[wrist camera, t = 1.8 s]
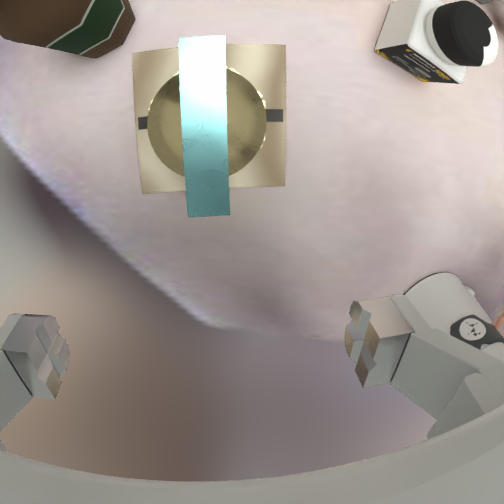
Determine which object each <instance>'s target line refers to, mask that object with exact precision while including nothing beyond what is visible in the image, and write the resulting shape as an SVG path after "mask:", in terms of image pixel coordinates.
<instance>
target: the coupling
mask: <svg viewBox="0 0 504 504" xmlns="http://www.w3.org/2000/svg"><path fill="white" fill-rule="evenodd" d="M262 96H263V95H261V94H260V93H259V92H258V91H257V90H256V89H255V87H254V86H253V85H252V84H251V83H250V82H249V81H248V80H247V79H245V78H244V77H243V76H241V75H240V74H239V73H237V72H236V71H235V70H234V69H233V68H231V69H227V66H226V47H225V35H221V36H201V37H188V38H179V71H178V72H177V73H176V74H175V75H174V76H173V77H172V78H171V79H169V80H168V81H167V82H166V83H165V84H164V85H163V86H162V87H161V88H160V90H159V91H158V92H157V94H156V96H155V97H154V99H153V100H152V101H151V102H150V103H152V104H151V106H150V107H149V113H148V120H147V130H148V136H149V140H150V143H151V147H152V148H153V150H154V153H155V154H156V155H157V157H158V158H159V159H160V160H161V162H162V163H163V164H164V165H166V166H167V167H168V168H169V169H171V170H172V171H173V172H175V173H177V174H179V175H181V176H183V177H185V186H186V198H187V210H188V217H203V216H220V215H230V201H229V177H230V175H232V174H235V173H236V172H238V171H239V170H241V169H242V168H244V167H245V166H246V165H247V164H248V163H249V162H250V161H251V160H252V159H253V158H254V157H255V155H256V154H257V152H258V151H259V149H260V148H261V147H262V146H263V145H262V143H263V141H265V132H266V124H267V120H266V111H265V101H262V99H261V97H262Z"/></svg>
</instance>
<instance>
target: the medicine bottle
mask: <svg viewBox="0 0 504 504" xmlns="http://www.w3.org/2000/svg"><path fill="white" fill-rule="evenodd" d="M375 52H376V53H378V54H380V55H381V56H383V57H385V58H387V59H388V60H390V61H392V62H393V63H395V64H397V65H398V66H400V67H401V68H403V69H405V70H406V71H408V72H409V73H411V74H412V75H414V76H415V77H417V78H418V79H420V80H421V81H423V82H441V83H456V84H461V83H463V80H464V77H465V73H466V70H467V66H476V67H486V66H489V65H490V64H492V63H493V61H494V60H495V58H496V56H497V52H498V38H497V34H496V31H495V28H494V26H493V24H492V22H491V20H490V19H489V17H488V16H487V15H486V13H485V12H484V11H483V10H482V9H480V8H479V7H478V6H476V5H475V4H473V3H471V2H469V1H458V2H454V3H449V4H444V3H443V2H442V1H440V0H398V1H395V2H393V3H391V4H390V7H389V10H388V13H387V16H386V19H385V22H384V24H383V27H382V30H381V33H380V36H379V38H378V41H377V44H376V47H375Z"/></svg>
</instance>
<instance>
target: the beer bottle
mask: <svg viewBox="0 0 504 504" xmlns="http://www.w3.org/2000/svg"><path fill="white" fill-rule="evenodd" d="M134 20H135V17H134V14H133V12H132V9H131V6H130V4H129V1H128V0H0V35H1V36H2V37H3V38H4V39H7V40H11V41H14V42H18V43H24V44H30V45H35V46H40V47H45V48H50V49H55V50H60V51H65V52H69V53H74V54H78V55H82V56H86V57H90V58H98V57H100V56H101V55H103V54H105V53H107V52H109V51H111V50H112V49H114V48H116V47H118V46H120V45H122V44H123V42H124V40H125V38H126V36H127V34H128V32H129V30H130V28H131V26H132V24H133V22H134Z"/></svg>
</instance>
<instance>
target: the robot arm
mask: <svg viewBox="0 0 504 504" xmlns="http://www.w3.org/2000/svg"><path fill="white" fill-rule="evenodd" d="M474 296H475V292H474V291H473V290H472V288H470V287H468V286H464V285H463V283H462V282H461V280H460V279H459V278H458V277H457V276H456V275H454V274H452V273H438V274H434V275H431V276H429V277H427V278H425V279H423V280H422V281H420V282H419V283H417V284H416V285H415V286H414V287H412V288H411V289H410V290H409V291H408V292H407V293H406V294H405V295H403V294H398V295H392V296H386V297H382V298H375V299H367V300H359V301H353V303H352V305H351V307H350V312H349V314H350V316H351V318H352V321H351V322H350V323H349V324H348V325H347V326H346V331H345V347H346V351H347V353H348V355H349V358H350V359H351V360H353V361H354V362H356V363H357V365H356V368H355V371H356V374H357V376H358V378H359V380H360V382H361V385H362V387H363V388H366V387H371V386H376V385H381V384H386V383H391V385H393V386H394V387H395V388H396V389H398V390H399V391H401V392H402V393H403V394H404V395H406V396H407V397H408V398H409V399H411V400H412V401H413V402H415V403H416V404H417V405H419V406H420V407H421V408H422V409H424V410H425V411H426V412H428V413H429V414H430V415H432V416H433V417H434V418H435V419H437V421H436V422H435V424H434V425H433V426H432V428H431V429H430V430H429V432H428V434H427V437H428V439H427V440H425V441H422V442H419V443H416V444H414V445H411V446H408V447H405V448H402V449H399V450H396V451H393V452H389V453H386V454H383V455H380V456H376V457H373V458H369V459H366V460H361V461H357V462H354V463H350V464H345V465H341V466H337V467H332V468H327V469H322V470H317V471H311V472H305V473H299V474H293V475H286V476H279V477H271V478H261V479H250V480H236V481H217V482H216V481H214V482H175V481H155V480H141V479H130V478H122V477H113V476H106V475H99V474H93V473H87V472H81V471H77V470H72V469H67V468H62V467H58V466H53V465H49V464H45V463H41V462H38V461H34V460H30V459H27V458H23V457H20V456H17V455H14V454H11V453H7V452H6V451H7V448H6V445H5V444H4V443H3V442H2V441H1V440H0V504H504V338H503V336H502V334H501V333H500V332H499V331H498V330H497V329H496V328H495V327H494V326H493V325H492V321H491V319H490V318H489V317H488V315H487V314H486V312H485V311H484V310H483V308H482V307H481V306H480V304H479V303H478V302H477V300H476V299H475V298H474ZM59 328H60V327H59V324H58V322H57V320H56V318H55V317H53V316H51V315H34V314H15V313H14V314H11V315H9V317H8V318H7V319H6V321H5V322H4V324H3V325H2V327H1V328H0V432H1V431H2V430H3V429H4V428H5V427H6V426H7V424H8V423H9V422H10V421H11V420H12V419H13V418H14V417H15V416H16V415H17V414H18V413H19V412H20V411H21V410H22V409H23V408H24V406H25V405H26V404H27V403H28V402H29V401H30V400H31V399H32V398H33V397H41V398H48V399H56V396H57V393H58V391H59V388H60V386H61V383H62V381H61V378H60V375H61V374H62V373H64V372H65V371H66V370H67V367H68V365H69V356H70V352H69V348H68V344H67V342H66V340H65V339H64V338H63V337H62V336H61V335H60V334H59V333H58V332H59ZM32 396H33V397H32Z"/></svg>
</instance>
